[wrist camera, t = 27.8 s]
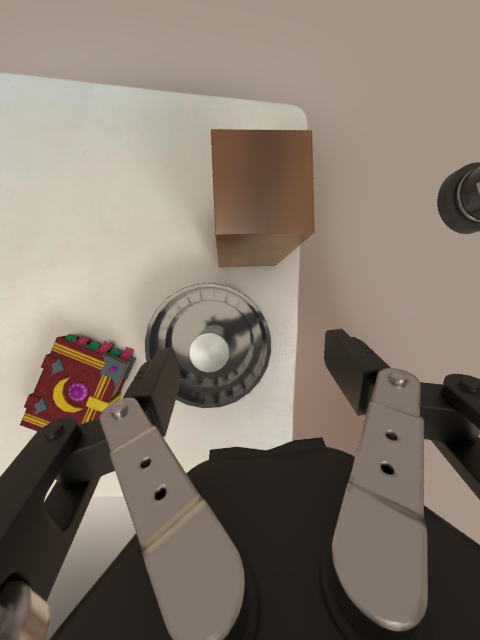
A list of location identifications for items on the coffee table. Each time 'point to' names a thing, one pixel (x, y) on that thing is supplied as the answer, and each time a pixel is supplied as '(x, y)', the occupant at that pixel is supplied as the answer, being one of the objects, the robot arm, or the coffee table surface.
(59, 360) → the decorative book
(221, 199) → the crate
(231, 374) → the silver metal bowl
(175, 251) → the coffee table surface
